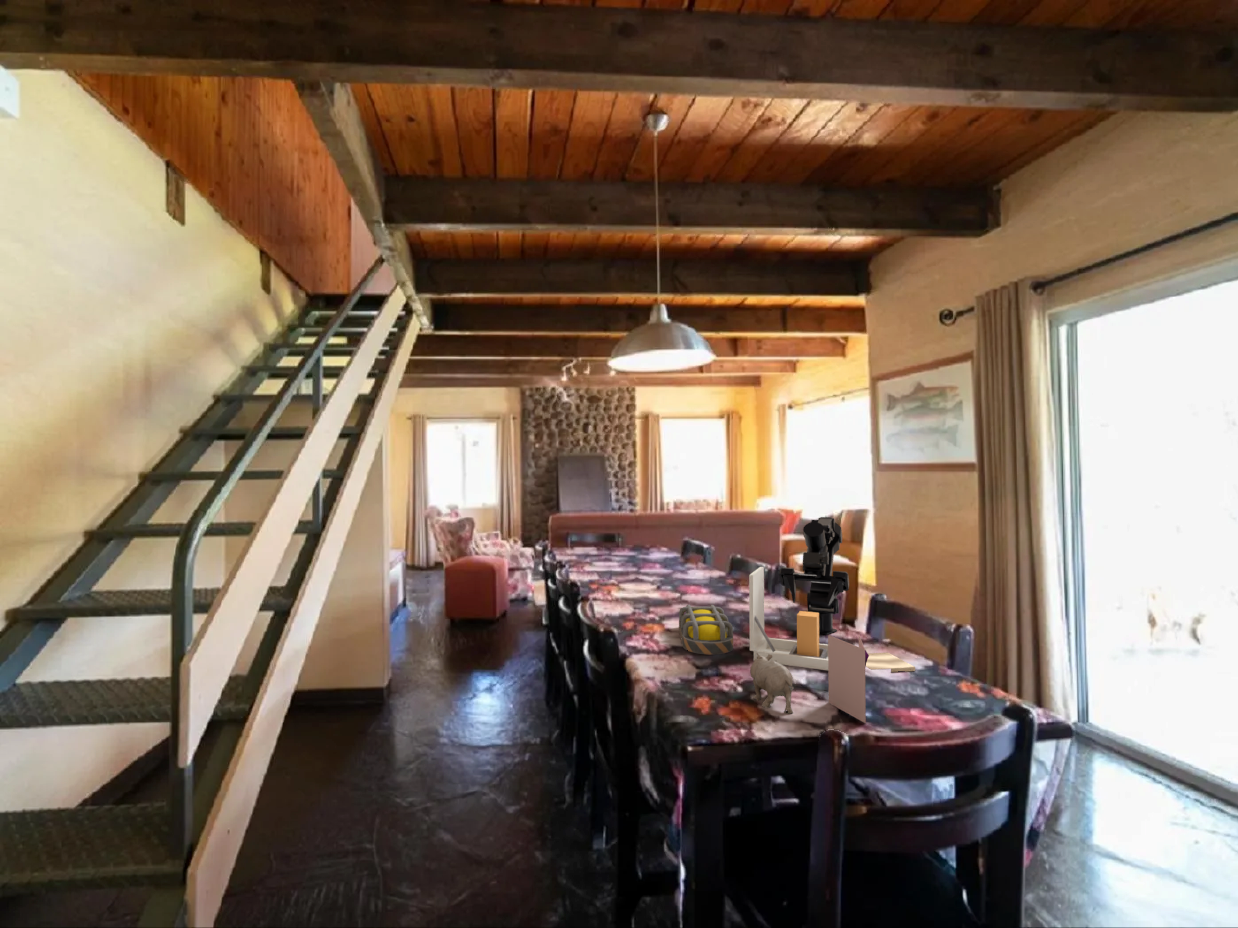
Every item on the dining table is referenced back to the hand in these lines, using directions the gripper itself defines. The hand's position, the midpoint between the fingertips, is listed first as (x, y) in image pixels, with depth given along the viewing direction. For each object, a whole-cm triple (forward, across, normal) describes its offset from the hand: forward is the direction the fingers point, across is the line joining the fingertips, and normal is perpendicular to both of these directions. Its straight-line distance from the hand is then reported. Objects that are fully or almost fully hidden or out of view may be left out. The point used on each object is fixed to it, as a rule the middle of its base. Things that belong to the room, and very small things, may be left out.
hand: (810, 603), depth 168 cm
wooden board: (+11, +18, +9) cm, 23 cm away
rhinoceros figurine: (+37, -4, -15) cm, 40 cm away
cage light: (+9, -31, +12) cm, 34 cm away
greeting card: (+36, +13, -15) cm, 41 cm away
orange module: (+15, 0, +4) cm, 15 cm away
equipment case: (+16, -3, +5) cm, 16 cm away
